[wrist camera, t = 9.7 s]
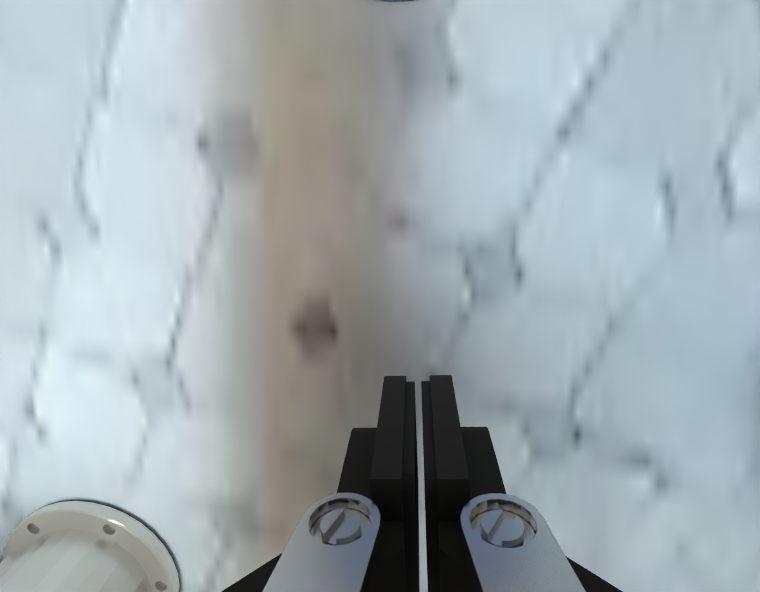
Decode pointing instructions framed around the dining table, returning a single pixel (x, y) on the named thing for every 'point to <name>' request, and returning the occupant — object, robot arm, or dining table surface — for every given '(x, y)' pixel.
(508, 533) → the robot arm
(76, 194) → the dining table surface
